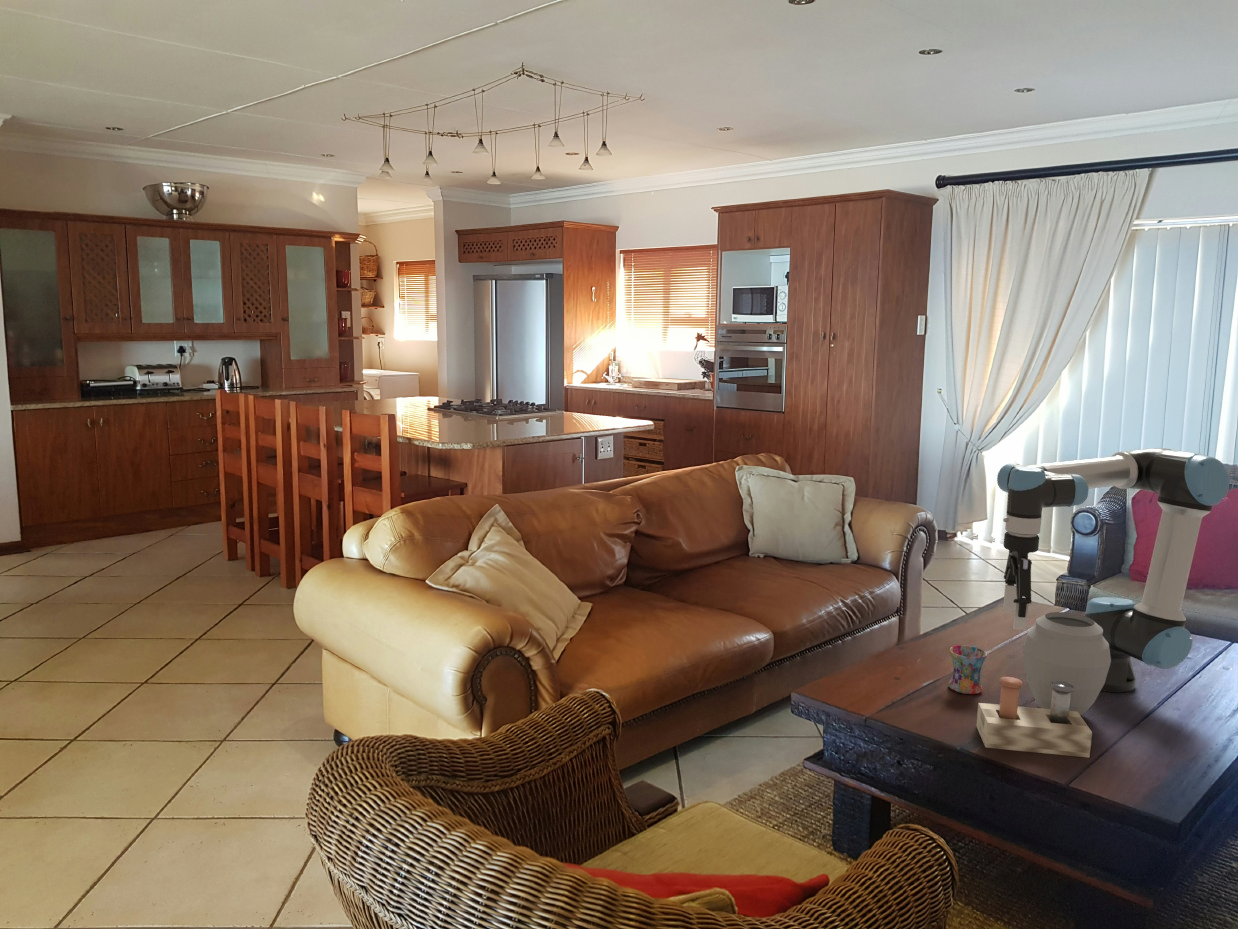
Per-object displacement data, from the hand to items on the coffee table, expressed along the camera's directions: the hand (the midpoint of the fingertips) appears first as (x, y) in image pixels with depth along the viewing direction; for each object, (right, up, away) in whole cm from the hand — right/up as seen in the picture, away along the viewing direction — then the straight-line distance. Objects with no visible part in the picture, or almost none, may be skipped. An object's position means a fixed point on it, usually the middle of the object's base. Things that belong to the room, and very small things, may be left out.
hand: (1014, 620), depth 217 cm
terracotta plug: (-4, -21, -6) cm, 23 cm away
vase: (+16, -25, +10) cm, 31 cm away
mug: (-2, -22, +24) cm, 33 cm away
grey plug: (+7, -22, -8) cm, 24 cm away
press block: (+1, -27, -6) cm, 28 cm away
